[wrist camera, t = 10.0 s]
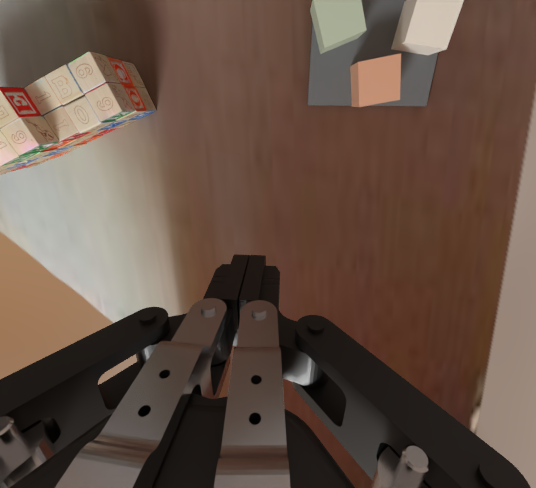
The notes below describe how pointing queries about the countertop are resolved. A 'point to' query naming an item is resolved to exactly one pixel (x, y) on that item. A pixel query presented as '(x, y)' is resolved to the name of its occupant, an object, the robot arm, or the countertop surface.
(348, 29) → the sage cube
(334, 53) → the mat
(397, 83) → the terracotta cube
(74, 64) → the stack of blocks
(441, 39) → the cream cube
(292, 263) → the countertop surface
